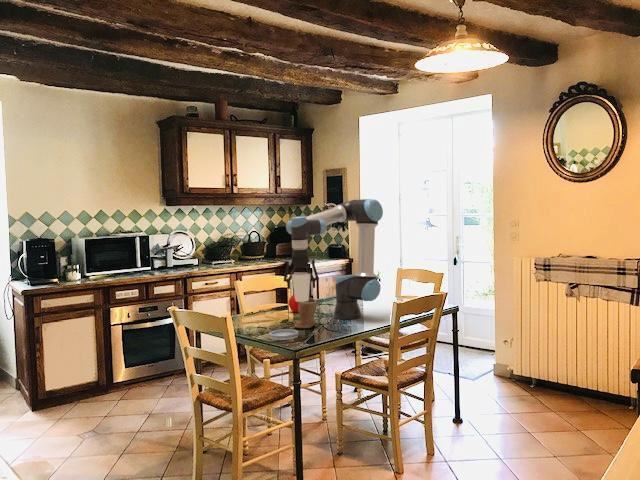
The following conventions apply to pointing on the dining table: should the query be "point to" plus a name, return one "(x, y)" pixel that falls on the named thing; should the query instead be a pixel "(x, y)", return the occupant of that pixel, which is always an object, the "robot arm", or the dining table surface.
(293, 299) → the tomato
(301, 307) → the stone cup
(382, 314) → the dining table surface
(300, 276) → the foam cup
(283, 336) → the saucer
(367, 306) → the dining table surface
